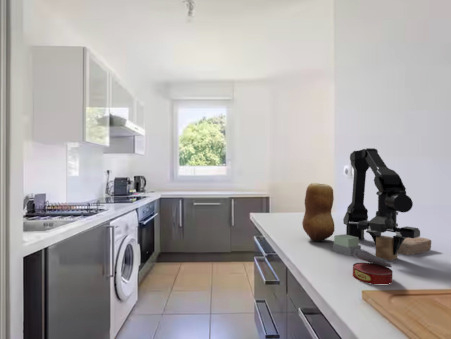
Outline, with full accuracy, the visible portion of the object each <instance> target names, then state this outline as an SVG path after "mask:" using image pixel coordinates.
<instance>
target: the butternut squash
mask: <svg viewBox="0 0 451 339" xmlns="http://www.w3.org/2000/svg"><path fill="white" fill-rule="evenodd" d="M334 199H335V198H334V189H333V187H332V186H331V185H329V184H327V183H318V182H312V183H310V184H309V185H307V188H306V190H305V197H304V208H305V209H304V210H305V212H304V213H303V218H302V222H301V225H302V229H303V230H304V232H305V233H306V235H307V236H308V237H309V238H310V240H312V242H319V241H320V242H321V241H325V240H326V239H328V238H330V237H332V235H333V234H335V221H334V218H333V216H332V208H333V204H334Z"/></svg>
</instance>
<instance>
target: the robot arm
mask: <svg viewBox="0 0 451 339" xmlns="http://www.w3.org/2000/svg"><path fill="white" fill-rule="evenodd" d="M349 160H350V166H351V168H352V170H353V180H352V181H353V184H352V195H351V196H352V197H351V202H350V204H349V205H348V206H347V210H346V212H345V214H344V217H343V218H342V220H343V222H342V223H343V224H344V225H345V227H346V232H345V233H346V234H345V235H350V236H354V237H359V241H361V240H362V241H363V240H365V239H366V238H365V232H366V233H367V234H369V235H370V236H371V238H372V240H373V243H374V245H375V247H376V237H378V236H382V234H383V233H386V232H389V233H395V235H393V236H392V237H393V238H394V247H393V255H396V254H397V255H398V250H399V248H400V246H401V244H402V242H403V241H404V239H405V238H417V237H420V238H421V230H420V229H419V228H418V227H413V226H403V227H399V224H398V223H397V217H398V215H399V212H400V213H402V214H403V213H408V212H409V211H411V210H412V208H413V206H414V205H413V204H414V203H413V201H412V198H411V197H410V196H408V195H407V191H406V189H407V188H406V187H405V185H404V183H403V181H402V178H401V177H400V175H399V173H397V171H395V170H393V169H391V168H389V167H388V166H387V165H386V163H385V162H384V160H383V159H382V157H381V156H380V155H379V151H378V149H377V148H375V147H374V148H370V147H369V148H367V147H366V148H362V149H360V150H353V151H352V152H351V153H350V155H349ZM369 168H370V169H371V171H372V172H373V174H374V178H373V182H374V185H375V187H376V189H377V190H378V191H376V195H377V210H376V212H375V217H374V216H373V217H372V218H371V219H370V220H368V218H369V216H368V213H369V212H368V211H369V210H368V208H366V206H365V203H364V201H365V190H366V189H365V187H366V178H367V171H368V170H369Z"/></svg>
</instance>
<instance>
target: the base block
mask: <svg viewBox="0 0 451 339" xmlns="http://www.w3.org/2000/svg"><path fill="white" fill-rule="evenodd" d="M361 247H362V245H361V244H359V246H353V247H345V246H341V245H338V244H334V243H333V244H332V251H333V252H336V253H340V254H341V253H342V254H345V255H348V256H352V255H353V251H354V250H355V249H362V248H361ZM353 256H354V255H353Z"/></svg>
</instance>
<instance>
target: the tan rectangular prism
mask: <svg viewBox="0 0 451 339" xmlns="http://www.w3.org/2000/svg"><path fill="white" fill-rule="evenodd" d="M393 247H394V238H393V236H387V235H383V234H381V236H378V237H376V246H375V256H377V257H378V258H380V259H382V260H386V261H387V260H388V261H394V260H397V259H398V253H397V254H396V255H393Z"/></svg>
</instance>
